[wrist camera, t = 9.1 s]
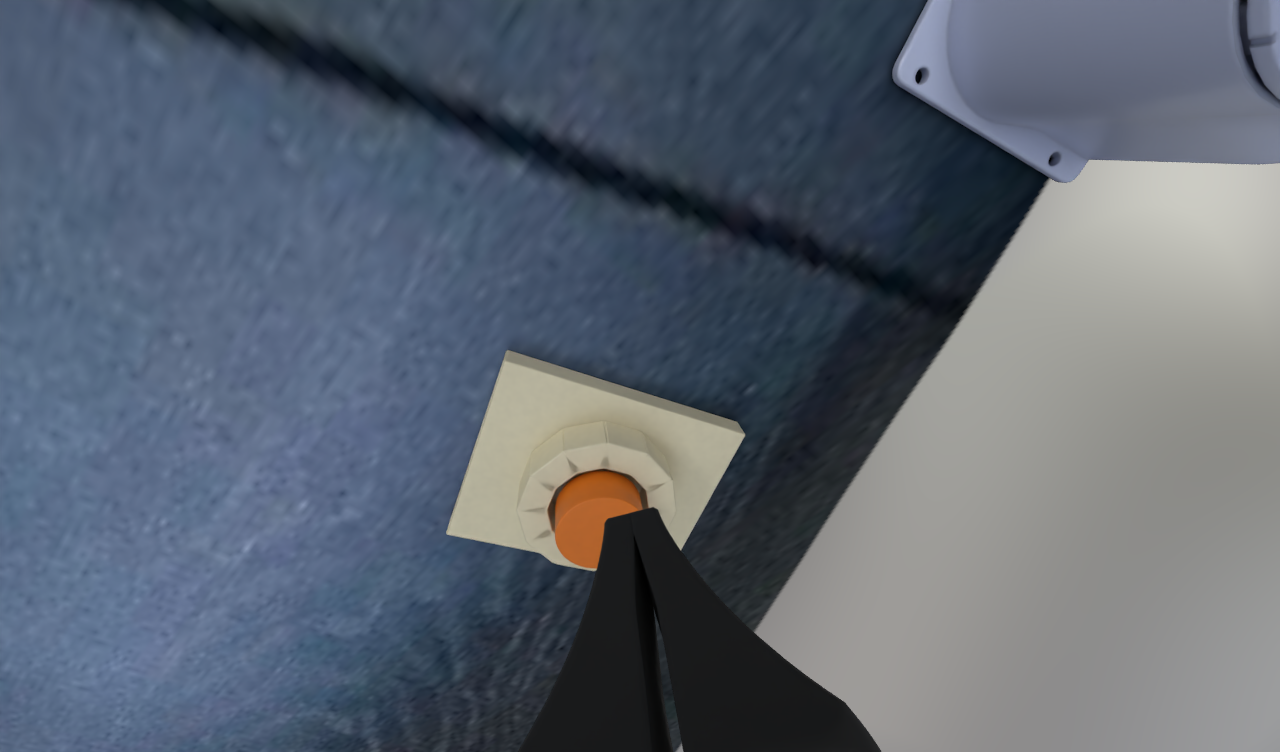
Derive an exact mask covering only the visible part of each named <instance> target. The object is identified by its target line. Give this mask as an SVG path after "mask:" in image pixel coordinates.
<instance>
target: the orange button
mask: <svg viewBox="0 0 1280 752" xmlns="http://www.w3.org/2000/svg"><path fill="white" fill-rule="evenodd" d="M639 510H643V508H642V503H641V499H640V495H639V492H638V490H637V488H636V487H635V485H634V484H633V483H632V482H631V481H630V480H629V479H627V478H626V477H624V476H622V475H620V474H617V473H614V472H609V471H594V472H589V473H585V474H582V475H580V476H578V477H576V478H574V479H573V480H571V481H570V482H569V483H567V484H566V485H565V486H564V487H563V489H562V490H561V492H560V493H559V495H558V497H557V500H556V505H555V541H556V545H557V548H558V549H559V551H560V553H561V554H562V555H563V556H564V557H565V558H566V559H567V560H569V561H570V562H572V563H574V564H576V565H578V566H581V567H585V568H595V569H597V566H598V562H599V557H600V553H601V548H602V542H603V535H604V523H605V522H606V520H607V519H608V518H612V517H616V516H620V515H624V514H628V513H631V512H635V511H639Z"/></svg>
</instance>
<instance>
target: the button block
mask: <svg viewBox="0 0 1280 752" xmlns="http://www.w3.org/2000/svg"><path fill="white" fill-rule="evenodd" d="M744 436H745V433H744V432H743V430H742V429H741V427H740V426H739V424H738V422H736V421H733V420H730V419H726V418H723V417H720V416H717V415H714V414H710V413H707V412H704V411H701V410H698V409H694V408H691V407H688V406H685V405H682V404H678V403H675V402H672V401H669V400H666V399H662V398H659V397H656V396H653V395H650V394H647V393H643V392H640V391H637V390H634V389H631V388H627V387H624V386H621V385H618V384H615V383H611V382H608V381H605V380H602V379H599V378H595V377H592V376H589V375H586V374H583V373H579V372H576V371H573V370H570V369H567V368H564V367H560V366H557V365H554V364H551V363H548V362H544V361H541V360H538V359H535V358H532V357H528V356H525V355H522V354H519V353H516V352H512V351H509V350H507V351H506V353H505V356H504V359H503V362H502V365H501V368H500V371H499V374H498V377H497V380H496V383H495V386H494V389H493V392H492V395H491V398H490V401H489V404H488V407H487V410H486V413H485V416H484V419H483V422H482V425H481V428H480V431H479V434H478V437H477V440H476V443H475V446H474V449H473V452H472V455H471V458H470V461H469V464H468V467H467V470H466V473H465V476H464V479H463V482H462V485H461V488H460V491H459V494H458V497H457V500H456V503H455V506H454V509H453V512H452V515H451V519H450V522H449V525H448V529H447V532H446V533H447V535H452V536H457V537H462V538H467V539H472V540H477V541H482V542H487V543H492V544H497V545H502V546H507V547H512V548H517V549H522V550H527V551H533V552H538V553H541V554H542V555H543V556H545V557H546V558H547V559H548V560H550V561H551V562H552V563H555V564H559V565H564V566H569V567H574V568H579V569H584V570H591V571H595V570H597V569H595V568H585V567H581V566H578V565H576V564H574V563H572V562H570V561H569V560H567V559H566V558H565V557H564V556H563V555H562V554H561V553H560V551H559V549H558V548H557V545H556V541H555V505H556V500H557V497H558V495H559V493H560V492H561V490H562V489H563V487H564V486H565V485H566V484H567V483H569V482H570V481H571V480H573V479H574V478H576V477H578V476H580V475H582V474H585V473H589V472H594V471H609V472H614V473H617V474H620V475H622V476H624V477H626V478H627V479H629V480H630V481H631V482H632V483H633V484H634V485H635V487H636V488H637V490H638V492H639V495H640V499H641V503H642V508H643V509H647V508H651V507H654V508H656V509H658V510H659V513H660V516H661V518H662V520H663V522H664V524H665V526H666V528H667V530H668V531H669V533H670V535H671V536H672V538H673V540H674V541H675V543H676V544H677V546H678V547H679V549H680V550H681V549H682V547H683V546H684V544H685V542H686V540H687V538H688V537H689V535H690V533H691V531H692V529H693V528H694V526H695V524H696V522H697V521H698V519H699V517H700V515H701V513H702V512H703V510H704V508H705V506H706V504H707V503H708V501H709V499H710V497H711V495H712V494H713V492H714V490H715V488H716V487H717V485H718V483H719V481H720V479H721V478H722V476H723V474H724V472H725V470H726V469H727V467H728V465H729V463H730V461H731V460H732V458H733V456H734V454H735V453H736V451H737V449H738V447H739V445H740V444H741V442H742V440H743V438H744Z"/></svg>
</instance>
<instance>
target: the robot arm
mask: <svg viewBox="0 0 1280 752" xmlns="http://www.w3.org/2000/svg"><path fill="white" fill-rule="evenodd" d="M918 70H920V71H921V72H922V78H921V81H920V82H919V83H918V84H917V82H916V81H915V76H916V72H917V71H918ZM892 77H893V80H894V82H895V83H896V84H897V85H898V86H899V87H901V88H903V89H904V90H906V91H908V92H909V93H911V94H912V95H914V96H916V97H917V98H919V99H921V100H922V101H924V102H926V103H927V104H929V105H931V106H932V107H934V108H936V109H937V110H939V111H940V112H942V113H944V114H945V115H947V116H949V117H950V118H952V119H954V120H955V121H957V122H959V123H960V124H962V125H964V126H965V127H967V128H968V129H970V130H972V131H973V132H975V133H977V134H978V135H980V136H982V137H983V138H985V139H987V140H988V141H990V142H992V143H993V144H995V145H996V146H998V147H1000V148H1001V149H1003V150H1005V151H1006V152H1008V153H1010V154H1011V155H1013V156H1015V157H1016V158H1018V159H1019V160H1021V161H1023V162H1024V163H1026V164H1028V165H1029V166H1031V167H1033V168H1034V169H1036V170H1038V171H1039V172H1041V173H1043V174H1044V175H1046V176H1047V177H1049V178H1051V179H1052V180H1054V181H1057V182H1062V183H1067V182H1071V181H1072V180H1074V179H1075V178H1076V177H1077V176H1078V174H1079V173H1080V172H1081V170H1082V169H1083V167H1084V166H1085V165H1086V163H1087V162H1088V160H1089V159H1090V160H1125V161H1158V162H1192V163H1194V162H1195V163H1226V164H1227V163H1228V164H1273V163H1280V0H928V1H927V3H926V5H925V7H924V9H923V11H922V12H921V14H920V16H919V18H918V20H917V22H916V24H915V26H914V28H913V30H912V32H911V34H910V35H909V37H908V39H907V41H906V43H905V45H904V47H903V49H902V51H901V53H900V55H899V57H898V58H897V60H896V62H895V64H894V67H893V70H892ZM1051 155H1052V159H1051V161H1050V163H1049V158H1050V156H1051ZM653 607H654V608H653ZM654 610H655V614H656V617H657V620H658V623H659V627H660V630H661V633H662V637H663V641H664V647H665V652H666V657H667V663H668V668H669V673H670V679H671V684H672V690H673V695H674V701H675V706H676V712H677V717H678V723H679V729H680V734H681V740H682V746H683V751H684V752H881V750H880V749H879V747H878V745H877V744H876V742H875V741H874V740H873V738H872V736H871V735H870V734H869V732H868V731H867V730H866V728H865V727H864V726H863V724H862V723H861V722H860V720H859V719H858V718H857V717H856V715H855V714H854V713H853V712H852V711H851V709H850V708H849V707H848V706H847V705H846V703H845V702H843V701H842V700H841V699H839V698H838V697H836V696H835V695H833V694H832V693H830V692H829V691H827V690H826V689H824V688H823V687H822V686H820V685H819V684H817V683H816V682H814V681H813V680H812V679H810V678H809V677H808V676H806V675H805V674H804V673H802V672H801V671H800V670H798V669H797V668H796V667H794V666H793V665H792V664H791V663H789V662H788V661H787V660H785V659H784V658H783V657H782V656H781V655H780V654H778V653H777V652H776V651H775V650H773V649H772V648H771V647H770V646H769V645H768V644H766V643H765V642H764V641H763V640H762V639H761V638H759V637H758V636H757V635H756V634H755V633H754V632H753V631H752V630H751V629H749V628H748V627H747V626H746V625H745V624H744V623H743V622H742V621H741V620H740V619H739V618H738V617H737V616H736V615H735V614H734V613H733V612H732V611H731V610H730V609H729V608H728V607H727V606H726V605H725V604H724V603H723V602H722V601H721V600H720V598H719V597H718V596H717V595H716V594H715V593H714V592H713V591H712V590H711V588H710V587H709V586H708V585H707V584H706V582H705V581H704V580H703V579H702V578H701V577H700V575H699V574H698V573H697V572H696V570H695V569H694V568H693V566H692V565H691V564H690V562H689V561H688V560H687V558H686V557H685V556H684V554H683V553H682V552H681V550H680V549H679V547H678V546H677V544H676V543H675V541H674V540H673V538H672V536H671V535H670V533H669V531H668V530H667V528H666V526H665V524H664V522H663V520H662V518H661V516H660V513H659V510H658V509H656V508H654V507H651V508H647V509H643V510H639V511H635V512H631V513H628V514H624V515H620V516H616V517H612V518H608V519H607V520H606V522H605V523H604V535H603V542H602V548H601V553H600V557H599V562H598V566H597V570H596V574H595V578H594V582H593V586H592V589H591V593H590V596H589V599H588V602H587V605H586V608H585V611H584V614H583V618H582V621H581V623H580V626H579V629H578V631H577V634H576V637H575V639H574V642H573V644H572V647H571V649H570V651H569V654H568V656H567V659H566V661H565V663H564V665H563V667H562V670H561V672H560V674H559V676H558V678H557V680H556V682H555V685H554V687H553V689H552V691H551V693H550V695H549V697H548V699H547V701H546V703H545V705H544V706H543V708H542V710H541V712H540V713H539V715H538V717H537V719H536V721H535V722H534V724H533V726H532V728H531V730H530V731H529V733H528V735H527V737H526V739H525V740H524V742H523V744H522V745H521V747H520V749H519V750H518V752H673V748H672V743H671V738H670V732H669V727H668V722H667V717H666V711H665V704H664V697H663V689H662V680H661V671H660V662H659V653H658V643H657V634H656V626H655V617H654Z"/></svg>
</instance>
